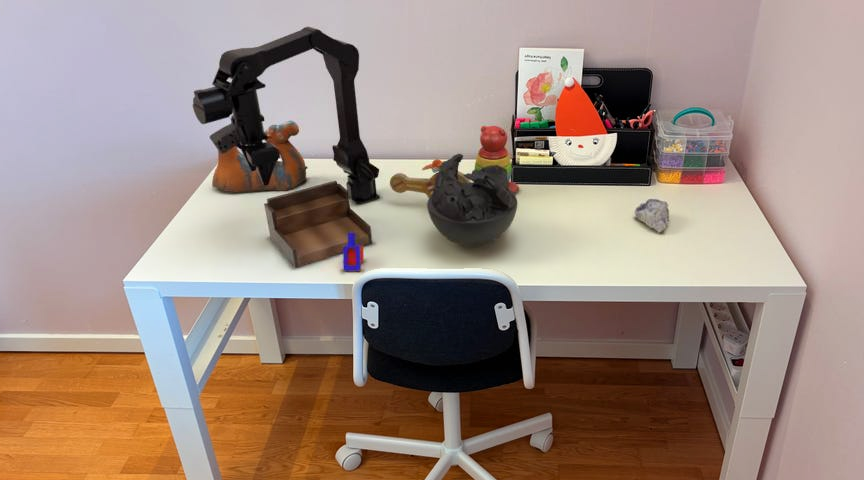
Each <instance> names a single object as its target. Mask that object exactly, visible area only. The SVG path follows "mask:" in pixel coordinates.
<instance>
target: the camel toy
mask: <svg viewBox="0 0 864 480" xmlns="http://www.w3.org/2000/svg"><path fill="white" fill-rule="evenodd" d="M264 132H265V133H266V134H267V136H268V139H265V140H264V142H271V143H272V144H274V145H275V146H276V147H277V148H278V149H279V153H280V158H281V161H279V160H277V161H276V164H275V166H274V169H273V172H272V175H271V179H270V182H269V185H266V186H264V185H263V183H262V180H261V178H260V175H259V173H258V170H257V167H256V170H255V171H251V170H250V168H249V165H248V163H247V161H246V159H245V157H244V155H243V153H242V152H240V150H239V148H238V147H236V146H235V147H233V148H231V149H230V150H228V152H226V153H224V154H221V153H220V152H219V150H218V149H217V153H218V154H217V155H218V162H217V165H216V168H215V169H214V173H213V176H212V183H211V186H212V188H216V189H218V190H221V191H225V192H226V191H227V192H234V193H238V194H244V193H252V192H261V191H271V190H274V191H282V192H285V191H288V190H291V189H293V188H295V187H297V186H298V185H300V183H302V182H303V181H306V182H307V181H308V180H307V170H308V169H309V166H307V165H306V163H305V160H304V158H303V156H302V154H301V153H300V152H299V150H298V149H297V148H296V147H295V146H294V145H293V143H292V142H291V141H290V138H291V137H295V136H297V135H298V134H299V133H300V128H299V125H298V124H297V123H296V122H295V121H293V120H288V121H285V122H283V123H281V124H271V125H269V126H268V127H267V128H266V130H264Z"/></svg>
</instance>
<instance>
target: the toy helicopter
mask: <svg viewBox="0 0 864 480" xmlns="http://www.w3.org/2000/svg"><path fill="white" fill-rule="evenodd" d="M445 161H446V160H443V161H442V160H441V159H439V158H436V159H434V160H433V161H432V163H430V164H427V165H424V167H422V169H421V171H425V170H431V171H432V173H433V175H432V176H431V177H430V178H423V177H422V178H420V177H409V176H407V175H406V173H402V172H397V173H395V174H393V175H392V176H391V177H390V180H389V187H390V189H392V191H394V192H395V193H397V194H403V193H405V192H408V191H409V192H416V193H421V194H425V196H427V198H428V199H429V198H430V196H431V195H432V193H433V190H434V183H435V178H436V176H437V174H438V173H439V172H440V171H441V169H440V166H441V164H442V163H443V162H445ZM464 174H465V173H463V172H461V171H459V170H458V181H459V182H460V183H469V182H471V180H469V179H468V178H466V177H465V176H464Z"/></svg>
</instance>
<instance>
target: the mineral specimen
mask: <svg viewBox="0 0 864 480" xmlns="http://www.w3.org/2000/svg"><path fill="white" fill-rule="evenodd" d="M634 214H635V216H636V218H637V219H638V220H639V221H640V222H643V223H644V224H646V226H648V227H649V228H650V229H653V230H654V231H655V232H657V233H662V232H663V231H664V230H665V229H666V226H667V223H668V222H670V210H669V204H668V202H667V201H665V200H660V199H657V198H649V199H647V200H646V201H645V202H643V203H640V204H639V205H638V206H637V207H636V208H635V210H634Z"/></svg>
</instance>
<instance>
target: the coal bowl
mask: <svg viewBox="0 0 864 480" xmlns="http://www.w3.org/2000/svg"><path fill="white" fill-rule="evenodd" d="M463 158H464V155H463V154H462V153H457V154H454V155H453V156H452V157H450V158H448V159H447V160H444V161H445V162H443V161H442V162H443V163H442V164H441V166H440V169H441V171H440V172H439V171H438V172H439V173H438V172H437V173H438V174H437V176H436V178H435V183H434V190H433V193H432V195H431V196H430V198H428V199H427V202H426V203H427V204H426V205H427V211H428V215H429V218H430V220H431V222H432V224H433V226H434V228H435V229H436V230H437V231H438V232H439V234H441V236H442V237H444V238H446V239H447V240H448V241H450V242H452V243H455V244H457V245H459V246H463V247H481V246H485V245H488V244H490V243H493V242H494V241H497V240H498V239H500V238H501V237H502V236H503V235H504V234H505V233H506V232H507V231H508V229H509V228H510V227H511V225H512V224H513V221H514V220H515V217H516V214H517V211H518V199H517V198H518V197H517V196H516V193H515V194H514V192H513V191H511V190H510V189H509V188H508V181H507V169H505V168H504V167H501V166H498V165H495V166H493V165H491V166H486V167H482V168H481V170H475V169H472V170H471V171H472V172H471V173H469V172H467V173H463V174H464V176H465V177H466V178H468V179H469V180H470V182H469V183H460V182H459V181H458V171H459V166H460V163H461V162H462V160H464V159H463Z"/></svg>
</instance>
